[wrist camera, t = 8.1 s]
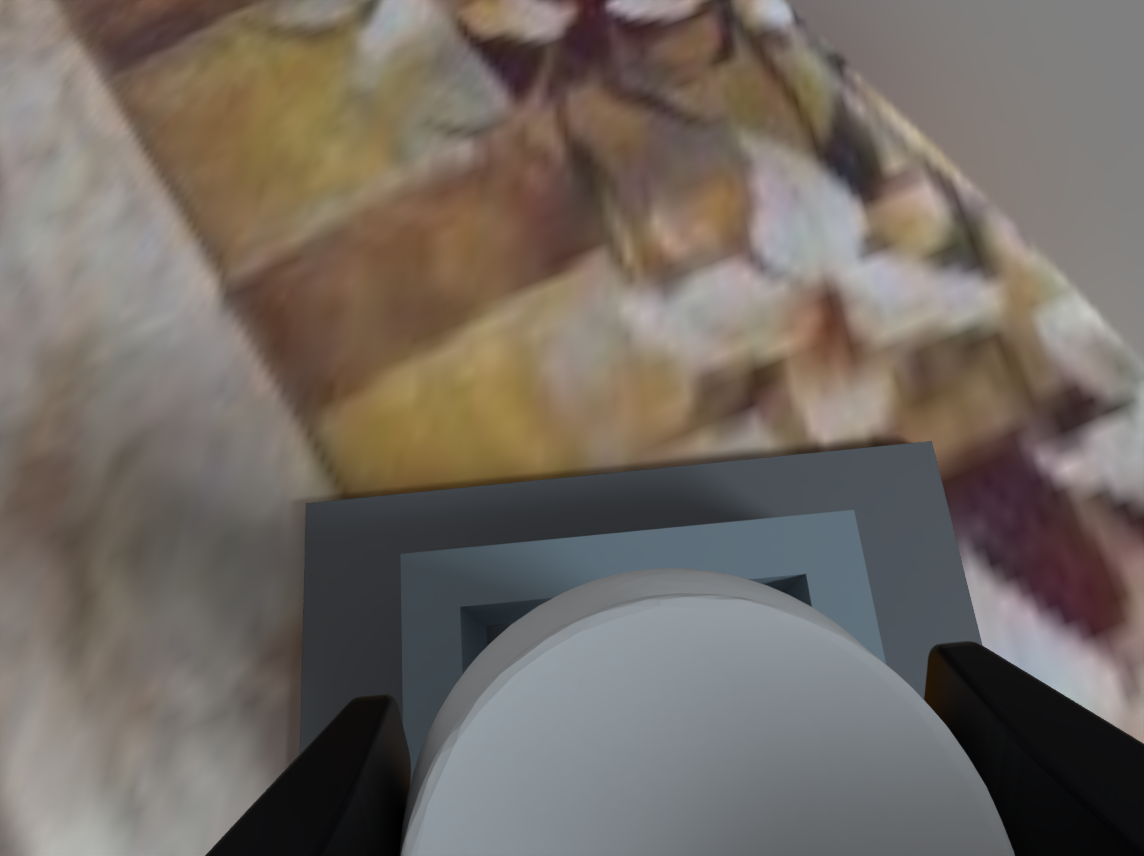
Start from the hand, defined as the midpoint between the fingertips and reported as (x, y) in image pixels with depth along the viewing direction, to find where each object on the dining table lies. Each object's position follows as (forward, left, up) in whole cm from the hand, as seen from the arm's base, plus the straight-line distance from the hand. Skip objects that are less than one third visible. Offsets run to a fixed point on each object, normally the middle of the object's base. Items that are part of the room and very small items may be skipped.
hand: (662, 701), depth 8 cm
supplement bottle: (-1, -1, -7) cm, 7 cm away
